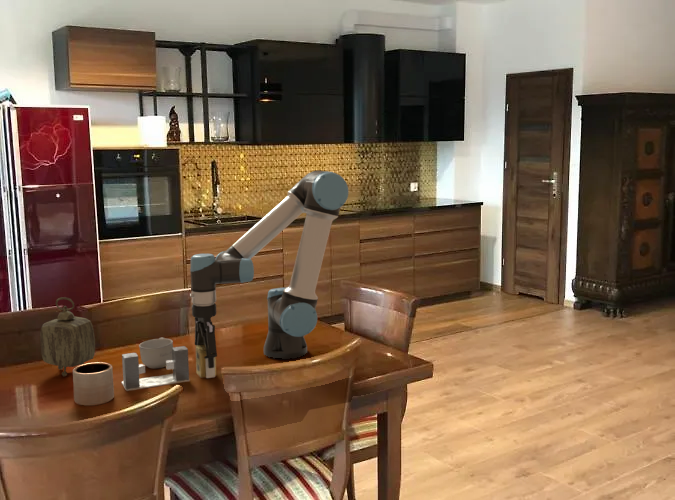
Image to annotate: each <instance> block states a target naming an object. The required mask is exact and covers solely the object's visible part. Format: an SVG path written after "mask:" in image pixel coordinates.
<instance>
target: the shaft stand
mask: <svg viewBox="0 0 675 500" xmlns="http://www.w3.org/2000/svg"><path fill="white" fill-rule="evenodd" d="M121 359H122V361H121V363H122V377H123V378H122V379H123V380H122V381H121V385H122V386H123V388H124V389H125V391H126V392H129V391H136V390H142V389H147V388H154V387H161V386H165V385H166V386H167V385H172V384H180V383H185V382H190V381H191V380H190V372H189V371H190V367H189V365H190V364H189V349H188V347H186V346H185V345H182V346H175V347H174V346H173V348H172V360H166V366H165V368H166V370H172V373H169V374H163V375H157V376H156V375H155V376H150V377H142V378H140V375H143V374H146V365H144V364H143V363H140V362H139V356H138V354H137V352H130V353H123V354H121Z"/></svg>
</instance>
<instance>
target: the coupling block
mask: <svg viewBox="0 0 675 500" xmlns="http://www.w3.org/2000/svg"><path fill="white" fill-rule="evenodd" d="M211 354H212V353H211ZM205 356H206V350H205V345H198V346H196V345H195V367H196V368H195V369H196V372H195V373H196V374H197V376H198V377H199V378H200V379H201V378H206V360H205V358H204V357H205ZM215 376H217V357H215Z"/></svg>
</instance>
